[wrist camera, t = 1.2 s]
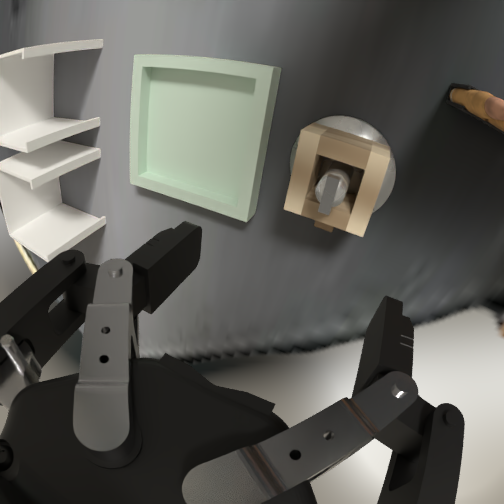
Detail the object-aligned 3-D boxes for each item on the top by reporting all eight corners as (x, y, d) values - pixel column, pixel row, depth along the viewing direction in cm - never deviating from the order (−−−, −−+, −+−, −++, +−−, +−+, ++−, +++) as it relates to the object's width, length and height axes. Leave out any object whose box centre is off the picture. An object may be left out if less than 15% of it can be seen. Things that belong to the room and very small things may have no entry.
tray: (148, 54, 27) (134, 54, 25) (281, 67, 23) (273, 67, 22) (142, 177, 35) (130, 183, 33) (255, 213, 31) (246, 222, 30)
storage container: (54, 46, 30) (-14, 59, 21) (104, 39, 27) (24, 47, 19) (62, 203, 44) (9, 236, 36) (107, 223, 42) (49, 263, 33)
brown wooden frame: (313, 122, 24) (301, 129, 21) (389, 147, 23) (390, 158, 19) (293, 207, 29) (279, 226, 26) (361, 231, 27) (356, 254, 24)
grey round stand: (303, 102, 24) (275, 111, 19) (408, 135, 22) (416, 155, 16) (283, 197, 29) (253, 231, 24) (376, 229, 27) (370, 274, 22)
